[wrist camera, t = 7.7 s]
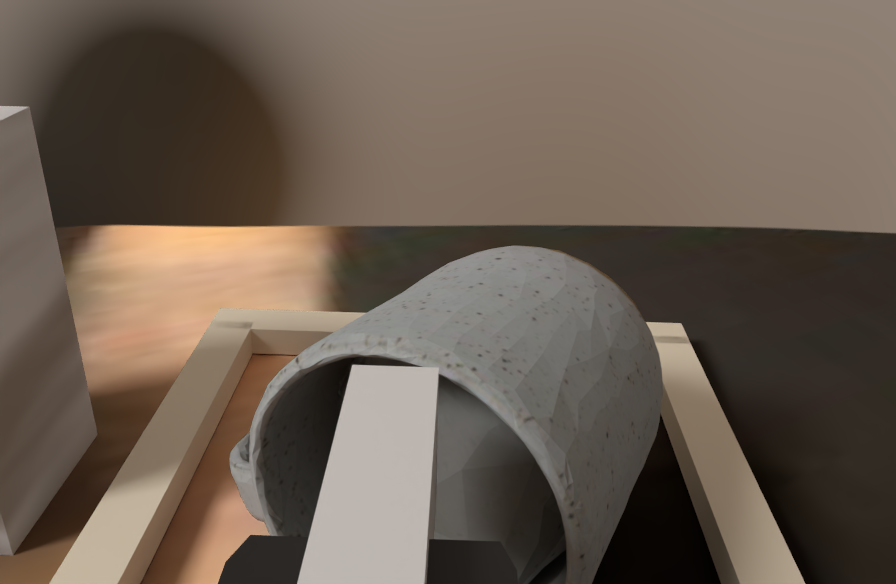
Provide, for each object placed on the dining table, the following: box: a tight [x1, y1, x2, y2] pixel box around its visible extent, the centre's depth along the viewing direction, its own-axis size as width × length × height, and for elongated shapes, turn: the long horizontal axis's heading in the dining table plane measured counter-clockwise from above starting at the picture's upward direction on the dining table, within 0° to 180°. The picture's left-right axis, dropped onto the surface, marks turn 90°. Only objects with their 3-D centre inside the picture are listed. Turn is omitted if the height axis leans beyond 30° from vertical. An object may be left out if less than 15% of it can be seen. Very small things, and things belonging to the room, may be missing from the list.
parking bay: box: [49, 308, 805, 584], centre depth 24 cm, size 17×14×1 cm
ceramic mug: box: [229, 246, 663, 584], centre depth 20 cm, size 11×8×8 cm
